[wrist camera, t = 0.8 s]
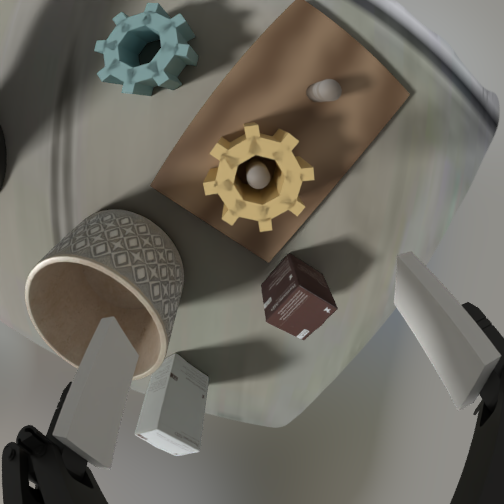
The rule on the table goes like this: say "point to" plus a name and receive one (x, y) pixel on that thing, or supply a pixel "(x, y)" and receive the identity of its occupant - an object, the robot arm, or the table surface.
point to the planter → (108, 287)
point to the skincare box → (174, 407)
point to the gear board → (285, 120)
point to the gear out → (246, 197)
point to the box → (296, 298)
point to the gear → (134, 40)
